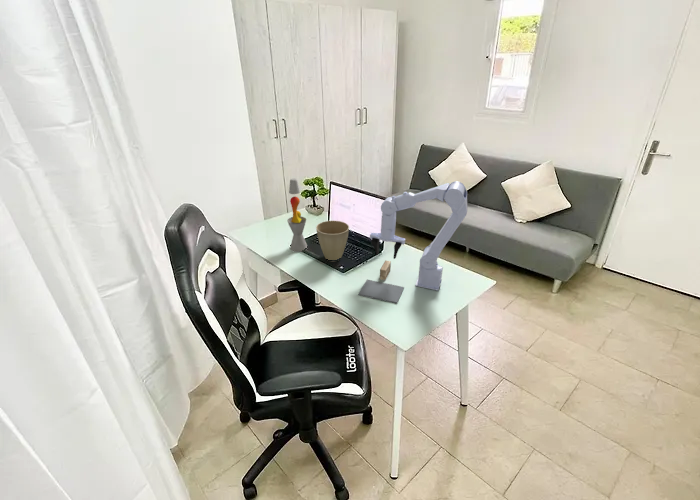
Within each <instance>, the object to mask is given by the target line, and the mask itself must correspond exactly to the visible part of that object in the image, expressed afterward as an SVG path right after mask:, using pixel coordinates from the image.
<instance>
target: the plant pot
mask: <svg viewBox="0 0 700 500" xmlns="http://www.w3.org/2000/svg"><path fill="white" fill-rule="evenodd" d="M315 227H316V228H315V229H316V235H317V238H318V243H319V246H320V249H321V251H322V253H323V256H324V258H325V260H326V259H328V260H337V259H339V258H342V256H343V254H344V251H345V248H346V245H347V242H348V238H349V233H350V232H349V231H350V226H349V224H348V223H346V222H344V221H340V220H325V221H322V222H320V223H318V224H317V225H316V226H315ZM328 260H327V261H328Z"/></svg>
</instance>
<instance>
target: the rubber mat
mask: <svg viewBox="0 0 700 500" xmlns="http://www.w3.org/2000/svg"><path fill="white" fill-rule="evenodd" d="M404 289H405V287H404V286H401V285H397V284H396V285H395V284H392V283H387V282H381V281H378V280H377V281H376V280H371V279H366V280H365V282H364V284H363V286H361V288H360V290H359V292H358V296H362V297H367V298H370V299H373V300H378V301H379V300H380V301H383V302H388V303H394V304H398V303H399V301H400V299H401V296H402V294H403V291H404Z"/></svg>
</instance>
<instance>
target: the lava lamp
mask: <svg viewBox="0 0 700 500" xmlns="http://www.w3.org/2000/svg"><path fill="white" fill-rule="evenodd" d="M288 190H289V194H290V195H297V194H300V193H301V191H300V187H299V183H298V179H297V178H290V180H289V189H288ZM289 202H290V205H291V209H292V210H291V211H292V217H289V218H287V223H288V226H289V228H290V230H291V233H292V234H293V235H292V240H291V244H290V248H289V249H290V251H291V252H294V253H295V252H298V253H300V252H303V251H302V250H304V249H305V248H307V246H308V243H307V242H306V239H305V237H304V235H303V232H304V229H305V226H306V222H307V218H306V217H304V216H302V213H301V211H299V210H298V207H299V205H300V204H301V203H300V202H301V200H300V198H299V197H298V196H293V197H290V200H289ZM307 249H308V248H307Z"/></svg>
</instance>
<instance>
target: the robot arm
mask: <svg viewBox="0 0 700 500" xmlns="http://www.w3.org/2000/svg"><path fill="white" fill-rule="evenodd" d="M433 199H437V200H439V201H441V202H442V203H443V202H444V201H445V203H446V204H447V205H448V206H449V208H450V209H451V211H452V213H450V215H449V217H448V218H447V220H446V221H445V223H444V225H442V227H441V229H440V230H439V232H438V233H437V234H436V236H435V238H434V239H433V241H431V243H430V244H429V245H428V246H426V247H425V248H424V249H423V253H422V255H421V257H420V259H419V268H418V276H417V278H416V279H417V280H416V282H415V287H420V288H424V289H429V290H433V291H439V290H440V286H441V284H442V280H443V279H442V277H443V269H444V267H443V265H442V266H441V265H439V263H438V261H437V260H438V259H439V257H440V255H441V252H442V251H443V250H444V248H445V246H446V244H447V243H448V242H449V241H450V239H451V238H452V237H453V235H454V233H455V232H456V230H458V228H459V226H460V225H461V223H462V222H463V220H464V219H465V217H467V213H468V191H467V189H466V186H465V184H464V183H463V182H461V181H459V180H458V181H456V180H455V181H452V182H451V183H450V182H448V183H447V182H446V183H443V184H441V185H438V186H435V187H431V188H428V189H425V190H423V191H420V192H417V193H414V192H407V191H403V193H401V194H399V195H392V196H389V197H386V198H385V199H384V200H383V202H382V203H381V205H380V211H381V212H382V213H381V224H380V225H381V226H380V232H370V234H369V239H371V244H372V246H373V248H374V252H375V256H378V255H379V253H380V241H383V242H389V243H391V242H392V243H394V245H393V246H394V247H393V248H394V251H393V252H394V253H393V259H394V260H395V259H396V258H397V255H398V252H399V250H400V248H401V247H402V245H403V246H404V245H405V243H406V238H404V237H400V236H397V235H395V233H396V224H397V223H396V222H397V212H399V211H403V210H406V209H411V208H414V207H416V204H417V203H421V202H425V201H430V200H433Z"/></svg>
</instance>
